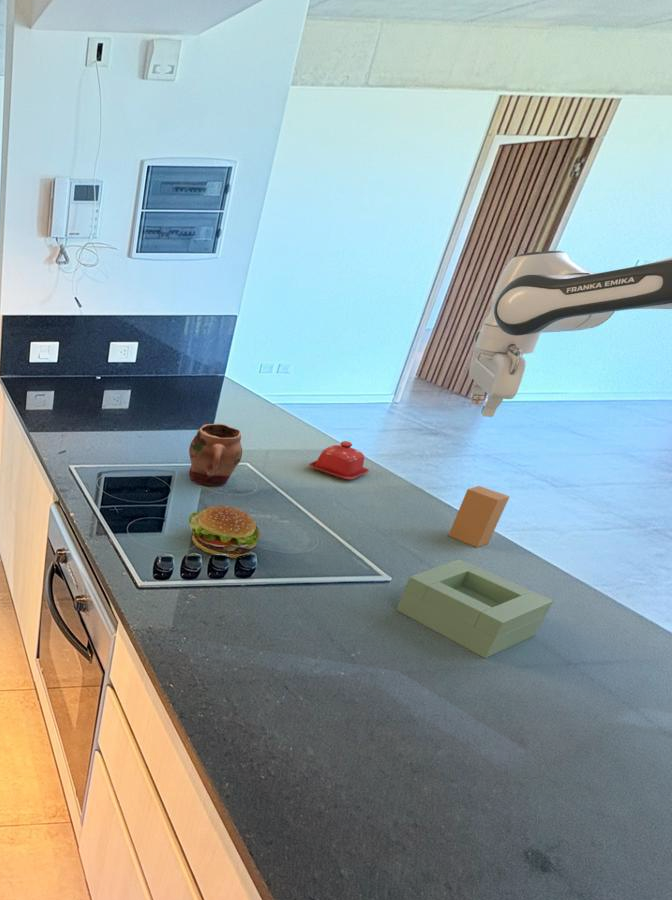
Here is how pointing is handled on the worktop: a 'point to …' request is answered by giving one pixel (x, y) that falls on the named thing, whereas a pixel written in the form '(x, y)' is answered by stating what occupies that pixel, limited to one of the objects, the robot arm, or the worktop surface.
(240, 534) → the food
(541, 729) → the worktop surface
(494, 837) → the worktop surface
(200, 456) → the decorative planter
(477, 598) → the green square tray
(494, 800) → the worktop surface
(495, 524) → the orange rectangular block
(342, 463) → the butter dish
